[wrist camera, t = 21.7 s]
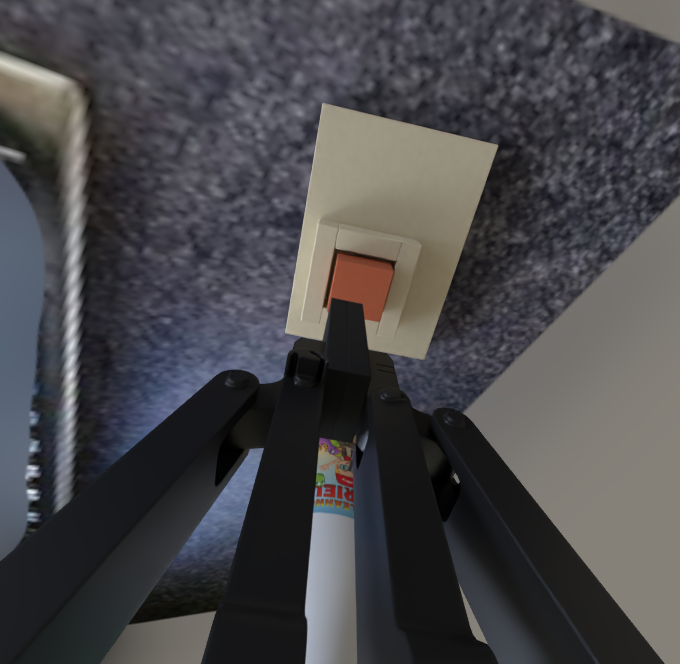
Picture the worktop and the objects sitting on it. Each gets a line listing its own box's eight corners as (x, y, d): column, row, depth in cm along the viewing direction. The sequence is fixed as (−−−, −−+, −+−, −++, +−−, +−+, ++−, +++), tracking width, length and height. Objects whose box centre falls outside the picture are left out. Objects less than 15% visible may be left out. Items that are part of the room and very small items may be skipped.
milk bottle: (365, 474, 34) (388, 831, 16) (281, 464, 34) (207, 818, 16) (382, 406, 31) (435, 755, 13) (289, 393, 31) (208, 735, 12)
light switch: (324, 107, 22) (320, 97, 19) (485, 146, 23) (511, 144, 19) (289, 321, 28) (281, 345, 24) (418, 346, 29) (429, 373, 25)
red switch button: (338, 252, 22) (337, 259, 21) (390, 262, 22) (394, 271, 21) (327, 301, 24) (326, 312, 22) (377, 311, 24) (379, 322, 22)
